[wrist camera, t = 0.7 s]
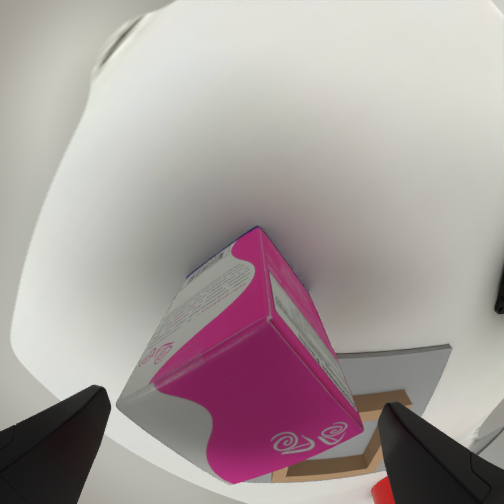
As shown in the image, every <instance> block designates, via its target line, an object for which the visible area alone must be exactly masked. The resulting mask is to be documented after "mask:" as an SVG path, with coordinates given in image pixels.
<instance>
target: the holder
mask: <svg viewBox="0 0 504 504" xmlns="http://www.w3.org/2000/svg"><path fill="white" fill-rule="evenodd" d="M451 351H452V347H451V346H450V345H442V346H435V347H427V348H418V349H409V350H399V351H387V352H373V353H356V354H335V355H336V357H337V360H338V362H339V365H340V367H341V370H342V372H343V375H344V377H345V379H346V382H347V384H348V387H349V389H350V392H351V394H352V397H353V399H354V402H355V404H356V407H357V409H358V412H359V415H360V418H361V420H362V424H363V427H364V431H363V432H362V433H361V434H359V435H357V436H355V437H353V438H351V439H349V440H347V441H345V442H343V443H341V444H339V445H337V446H335V447H333V448H331V449H328V450H326V451H324V452H322V453H320V454H318V455H315V456H313V457H311V458H308V459H306V460H304V461H301V462H299V463H296V464H294V465H291V466H288V467H286V468H283V469H280V470H277V471H274V472H271V473H268V474H266V475H263V476H259V477H256V478H253V479H250V480H247V481H243V482H248V483H293V482H310V481H322V480H331V479H339V478H347V477H353V476H360V475H365V474H371V473H376V472H381V471H385V470H386V468H385V464H384V460H383V454H382V447H381V441H380V435H379V430H378V419H379V416H380V414H381V412H382V410H383V407H384V405H385V404H386V403H387V402H393V401H398V402H400V403H401V404H403V405H404V406H406V407H407V408H408V409H410V410H411V411H413V412H414V413H415V414H417V415H418V416H420V417H421V416H422V415H423V413H424V411H425V409H426V407H427V405H428V403H429V401H430V399H431V397H432V395H433V393H434V391H435V389H436V386H437V384H438V382H439V380H440V378H441V375H442V373H443V371H444V368H445V366H446V363H447V361H448V358H449V356H450V353H451Z"/></svg>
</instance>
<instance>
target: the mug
mask: <svg viewBox="0 0 504 504" xmlns="http://www.w3.org/2000/svg"><path fill="white" fill-rule="evenodd" d="M371 492H372V496H373V499H374V503H375V504H395V502H394V498H393V494H392V490H391V486H390V482H389V479H388V476H387V477H385V478H384V479H382V480H381V481H379V482H378V483H377V484H376V485H375V486H374V487H373V488H372V490H371Z"/></svg>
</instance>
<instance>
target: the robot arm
mask: <svg viewBox="0 0 504 504" xmlns="http://www.w3.org/2000/svg"><path fill="white" fill-rule="evenodd" d="M495 312H496V313H498V314H504V278H503V282H502V286H501V290H500V294H499V297H498V301H497V304H496V307H495ZM110 412H111V403H110V400H109V397H108V394H107V391H106V389H105V388H104V387H102V386H98V385H92V386H90V387H88V388H86V389H84V390H82V391H80V392H78V393H77V394H75V395H73V396H71V397H69V398H67V399H65V400H63V401H61V402H59V403H57V404H56V405H53V406H52V407H50V408H48V409H46V410H44V411H42V412H40V413H38V414H36V415H34V416H32V417H30V418H28V419H26V420H23V421H21V422H19V423H17V424H16V425H13V426H11V427H9V428H7V429H4V430H2V431H0V504H77V502H78V499H79V497H80V494H81V492H82V489H83V486H84V484H85V481H86V479H87V476H88V474H89V472H90V469H91V467H92V464H93V462H94V459H95V457H96V455H97V452H98V449H99V447H100V445H101V441H102V438H103V435H104V431H105V428H106V425H107V421H108V418H109V415H110ZM378 430H379V435H380V441H381V447H382V454H383V460H384V464H385V468H386V472H387V475H388V479H389V482H390V486H391V490H392V494H393V498H394V502H395V504H504V470H503V469H501V468H499V467H497V466H495V465H493V464H491V463H490V462H488V461H486V460H484V459H483V458H481V457H479V456H478V455H476V454H475V453H473V452H470V450H469V449H467V448H466V447H464V446H462V445H461V444H459V443H458V442H456V441H455V440H453V439H452V438H450V437H449V436H447V435H446V434H445V433H443V432H442V431H440V430H439V429H437V428H436V427H434V426H433V425H431V424H430V423H428V422H427V421H426V420H424V419H423V418H421V417H420V416H418V415H417V414H415V413H414V412H413V411H411V410H410V409H408V408H407V407H406V406H404V405H403V404H401V403H400V402H398V401H393V402H387V403H386V404H385V405H384V407H383V410H382V412H381V414H380V416H379V419H378Z"/></svg>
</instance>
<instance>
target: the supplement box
mask: <svg viewBox="0 0 504 504" xmlns="http://www.w3.org/2000/svg"><path fill="white" fill-rule="evenodd" d="M116 407H117V408H118V410H119V411H121V412H122V413H123V414H124V415H126V416H127V417H128V418H129V419H130V420H132V421H133V422H134V423H136V424H137V425H138V426H139V427H141V428H142V429H143V430H145V431H146V432H147V433H149V434H150V435H152V436H153V437H154V438H156V439H157V440H159V441H160V442H161V443H163V444H164V445H166V446H167V447H169V448H170V449H172V450H173V451H175V452H176V453H177V454H179V455H180V456H182V457H184V458H185V459H187V460H188V461H190V462H191V463H193V464H194V465H196V466H197V467H199V468H200V469H202V470H203V471H205V472H207V473H209V474H210V475H212V476H214V477H215V478H217V479H219V480H220V481H222V482H224V483H226V484H228V485H233V484H236V483H240V482H243V481H247V480H250V479H253V478H256V477H259V476H263V475H266V474H268V473H271V472H274V471H277V470H280V469H283V468H286V467H288V466H291V465H294V464H296V463H299V462H301V461H304V460H306V459H308V458H311V457H313V456H315V455H318V454H320V453H322V452H324V451H326V450H328V449H331V448H333V447H335V446H337V445H339V444H341V443H343V442H345V441H347V440H349V439H351V438H353V437H355V436H357V435H359V434H361V433H362V432H363V431H364V427H363V424H362V420H361V418H360V415H359V412H358V409H357V407H356V404H355V402H354V399H353V397H352V394H351V392H350V389H349V387H348V384H347V382H346V379H345V377H344V375H343V372H342V370H341V367H340V365H339V362H338V360H337V357H336V355H335V352H334V350H333V348H332V346H331V343H330V341H329V339H328V336H327V334H326V332H325V329H324V327H323V324H322V322H321V320H320V317H319V315H318V313H317V310H316V308H315V306H314V304H313V301H312V299H311V297H310V294H309V293H308V292H307V290H306V289H305V287H304V286H303V284H302V283H301V282H300V280H299V279H298V277H297V276H296V275H295V273H294V272H293V270H292V269H291V268H290V266H289V265H288V263H287V262H286V261H285V259H284V258H283V256H282V255H281V254H280V252H279V251H278V250H277V248H276V247H275V246H274V244H273V243H272V242H271V240H270V239H269V237H268V236H267V235H266V234H265V232H264V231H263V230H262V228H261V227H259V226H256V227H254V228H253V229H251V230H250V231H248V232H247V233H245V234H244V235H242V236H241V237H239V238H238V239H237V240H235V241H234V242H232V243H231V244H230V245H228V246H227V247H226V248H224V249H223V250H221V251H220V252H219V253H217V254H216V255H215V256H213V257H212V258H211V259H209V260H208V261H207V262H205V263H204V264H203V265H201V266H200V267H199V268H197V269H196V270H195V271H194V272H192V273H191V274H190V275H188V276H187V277H186V280H185V282H184V283H183V285H182V287H181V289H180V291H179V292H178V294H177V296H176V297H175V299H174V301H173V303H172V304H171V306H170V307H169V309H168V311H167V312H166V314H165V316H164V318H163V319H162V321H161V323H160V324H159V326H158V328H157V330H156V331H155V333H154V335H153V336H152V338H151V340H150V342H149V343H148V345H147V347H146V349H145V351H144V353H143V354H142V356H141V358H140V360H139V362H138V364H137V365H136V367H135V369H134V371H133V372H132V374H131V376H130V378H129V380H128V382H127V384H126V385H125V387H124V389H123V391H122V393H121V395H120V397H119V398H118V400H117V402H116Z"/></svg>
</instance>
